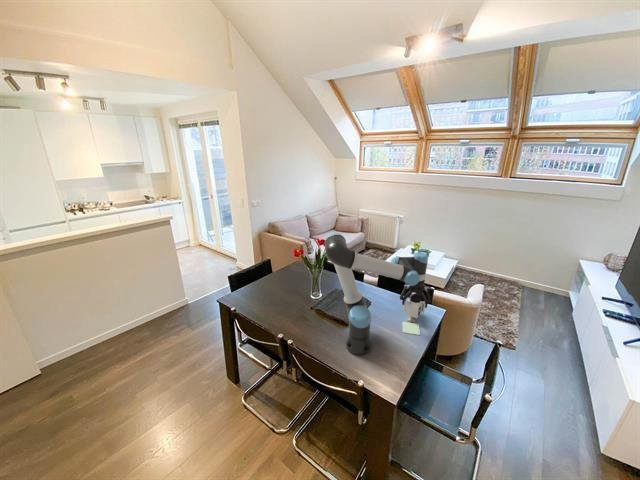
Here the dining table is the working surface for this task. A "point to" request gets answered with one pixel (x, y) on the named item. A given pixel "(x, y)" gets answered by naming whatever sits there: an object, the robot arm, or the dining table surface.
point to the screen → (411, 319)
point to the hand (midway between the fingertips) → (413, 310)
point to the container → (414, 305)
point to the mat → (411, 328)
